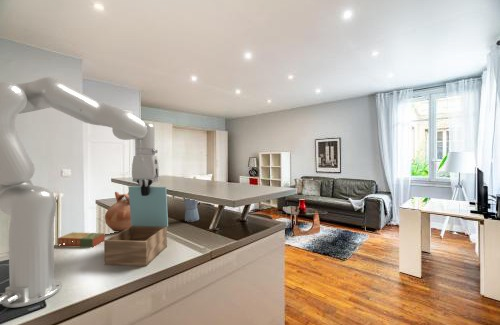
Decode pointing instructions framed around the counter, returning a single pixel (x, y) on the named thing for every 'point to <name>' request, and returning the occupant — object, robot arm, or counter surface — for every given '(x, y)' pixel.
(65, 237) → the carton
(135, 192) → the lid
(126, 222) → the jug
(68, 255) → the counter surface
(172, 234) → the counter surface
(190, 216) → the moka pot
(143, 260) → the walnut box
